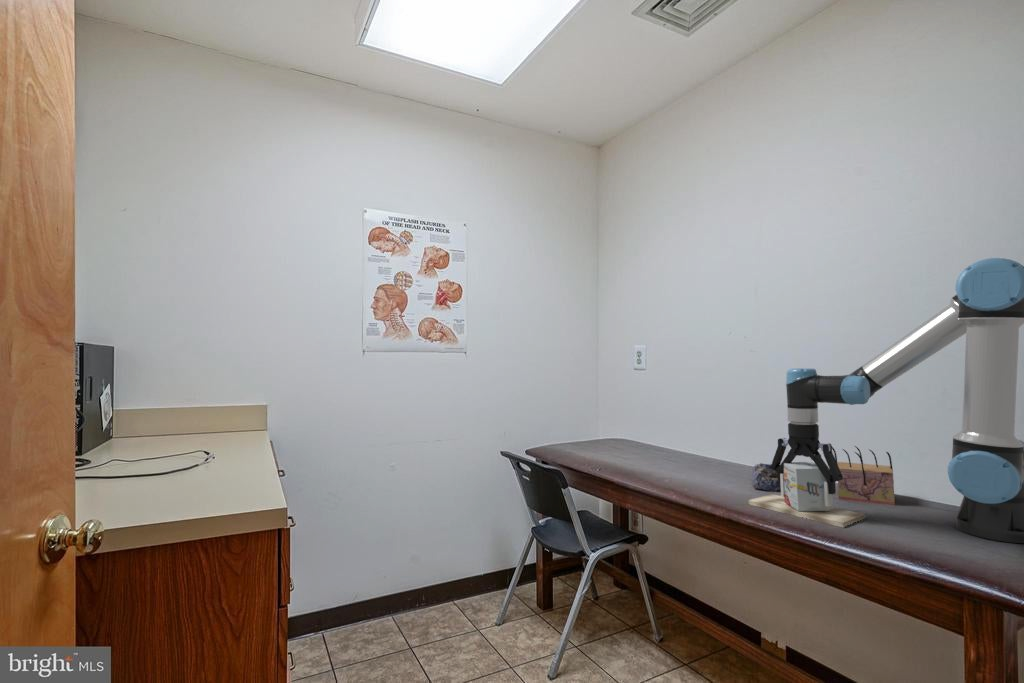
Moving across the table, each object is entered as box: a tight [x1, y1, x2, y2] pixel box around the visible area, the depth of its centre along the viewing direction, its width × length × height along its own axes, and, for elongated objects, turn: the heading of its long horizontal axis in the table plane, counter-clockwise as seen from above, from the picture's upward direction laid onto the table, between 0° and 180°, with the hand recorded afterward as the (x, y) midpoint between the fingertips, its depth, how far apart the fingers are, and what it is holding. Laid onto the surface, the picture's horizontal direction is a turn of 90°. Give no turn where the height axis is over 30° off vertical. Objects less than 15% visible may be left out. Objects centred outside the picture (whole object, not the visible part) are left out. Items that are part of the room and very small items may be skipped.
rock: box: [750, 462, 781, 492], centre depth 169 cm, size 11×10×10 cm
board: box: [747, 493, 867, 528], centre depth 143 cm, size 26×12×1 cm, turn 32°
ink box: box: [784, 461, 830, 511], centre depth 142 cm, size 9×9×12 cm
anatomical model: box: [832, 445, 896, 506], centre depth 155 cm, size 16×11×15 cm
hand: (806, 500), depth 142 cm, fingers closed on ink box, 11 cm apart
